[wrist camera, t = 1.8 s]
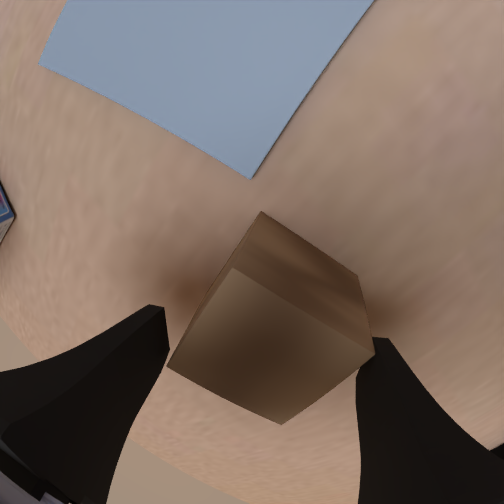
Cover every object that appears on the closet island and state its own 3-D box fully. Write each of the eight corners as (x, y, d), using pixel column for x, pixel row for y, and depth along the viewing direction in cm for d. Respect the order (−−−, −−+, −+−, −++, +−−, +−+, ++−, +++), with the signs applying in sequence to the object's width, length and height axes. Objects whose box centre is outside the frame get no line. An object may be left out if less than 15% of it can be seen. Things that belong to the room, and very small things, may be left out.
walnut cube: (357, 274, 13) (375, 353, 8) (291, 344, 15) (281, 424, 10) (261, 210, 12) (232, 267, 8) (206, 293, 14) (166, 366, 10)
